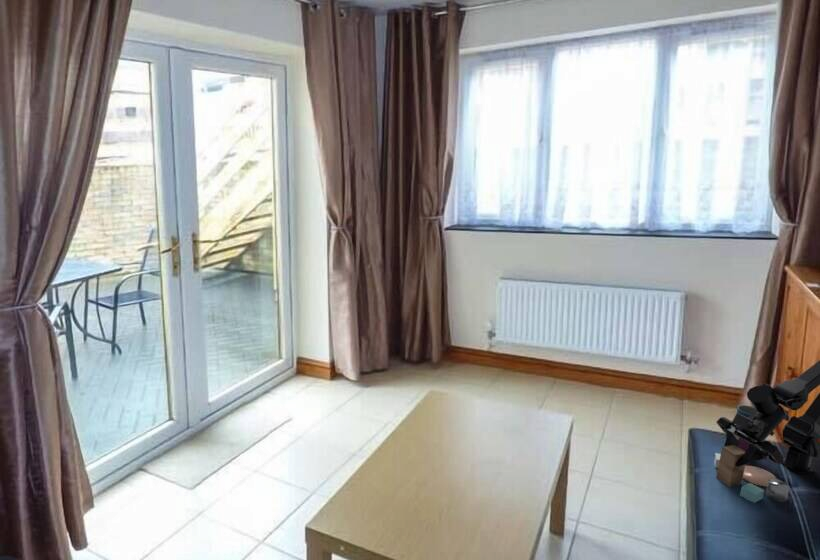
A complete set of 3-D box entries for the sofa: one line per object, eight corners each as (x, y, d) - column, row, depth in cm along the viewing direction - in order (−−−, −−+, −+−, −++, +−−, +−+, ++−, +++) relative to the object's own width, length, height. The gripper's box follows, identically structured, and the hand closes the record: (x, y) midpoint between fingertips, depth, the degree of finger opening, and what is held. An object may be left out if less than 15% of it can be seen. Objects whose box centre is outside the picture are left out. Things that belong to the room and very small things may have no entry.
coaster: (756, 465, 171) (757, 464, 171) (785, 485, 162) (785, 483, 161) (729, 469, 169) (730, 467, 168) (757, 488, 159) (757, 487, 159)
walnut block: (728, 475, 165) (734, 444, 163) (741, 484, 161) (747, 452, 159) (716, 477, 164) (722, 446, 162) (729, 486, 160) (735, 455, 157)
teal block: (747, 492, 158) (749, 482, 157) (762, 499, 154) (764, 490, 154) (739, 496, 156) (741, 486, 155) (754, 504, 152) (756, 494, 152)
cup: (757, 460, 174) (766, 416, 170) (733, 457, 175) (742, 413, 172) (749, 449, 180) (757, 406, 177) (726, 446, 182) (734, 403, 178)
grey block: (713, 461, 173) (715, 452, 172) (728, 464, 171) (730, 456, 171) (714, 468, 169) (716, 459, 168) (729, 471, 168) (731, 462, 167)
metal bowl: (775, 490, 159) (777, 477, 158) (791, 500, 154) (794, 487, 153) (761, 492, 158) (763, 479, 157) (777, 503, 153) (779, 490, 152)
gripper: (726, 391, 167) (691, 429, 166) (784, 421, 150) (745, 463, 149) (742, 412, 171) (707, 449, 170) (800, 443, 154) (762, 485, 153)
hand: (728, 461), depth 161 cm, fingers open, 5 cm apart
